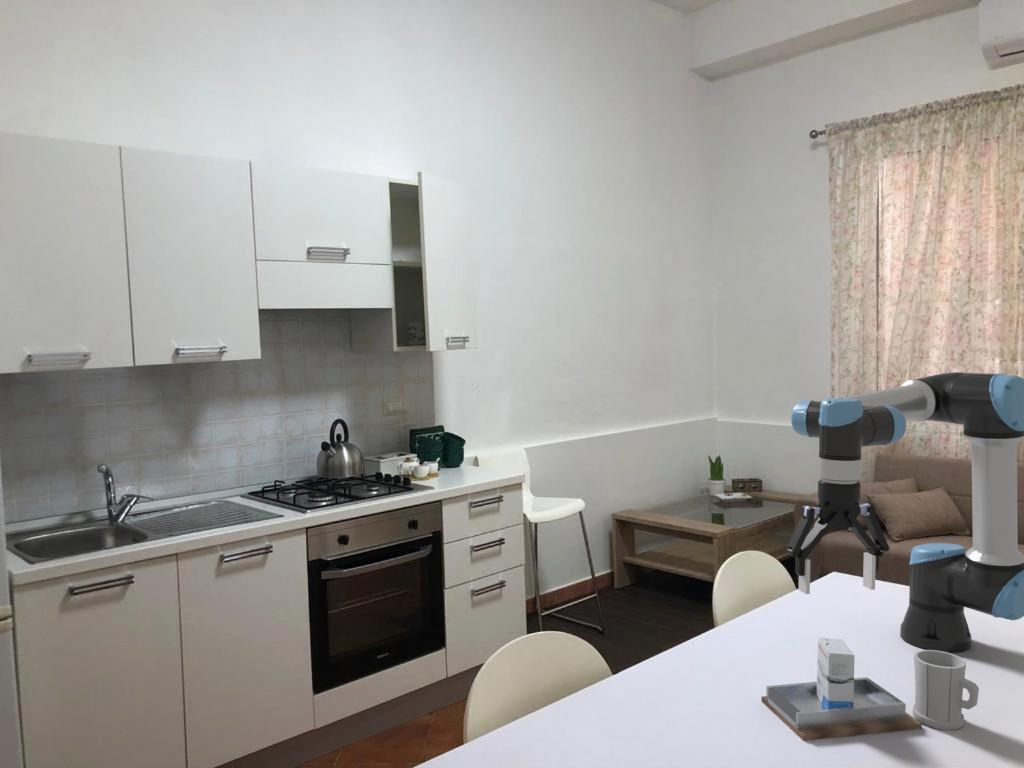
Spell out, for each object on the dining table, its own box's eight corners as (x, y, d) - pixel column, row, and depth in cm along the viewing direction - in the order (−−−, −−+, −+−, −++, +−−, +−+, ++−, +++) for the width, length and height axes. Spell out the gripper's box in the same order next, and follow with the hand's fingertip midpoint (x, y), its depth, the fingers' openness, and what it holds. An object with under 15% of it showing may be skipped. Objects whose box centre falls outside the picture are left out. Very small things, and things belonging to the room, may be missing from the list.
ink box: (854, 715, 154) (855, 654, 153) (827, 714, 155) (828, 653, 154) (841, 695, 163) (842, 637, 162) (815, 694, 163) (816, 636, 163)
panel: (869, 691, 169) (869, 686, 169) (921, 728, 153) (921, 723, 153) (761, 701, 165) (761, 696, 165) (803, 740, 149) (803, 735, 149)
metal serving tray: (866, 691, 167) (867, 677, 167) (905, 719, 155) (905, 703, 155) (766, 700, 163) (766, 686, 163) (797, 730, 151) (798, 714, 151)
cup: (969, 714, 159) (971, 653, 158) (978, 736, 150) (981, 672, 150) (909, 706, 162) (910, 647, 162) (915, 727, 154) (917, 665, 153)
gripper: (886, 474, 162) (883, 579, 163) (768, 479, 157) (766, 587, 159) (911, 481, 154) (907, 591, 156) (788, 486, 150) (786, 600, 151)
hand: (836, 589), depth 157 cm, fingers open, 13 cm apart
